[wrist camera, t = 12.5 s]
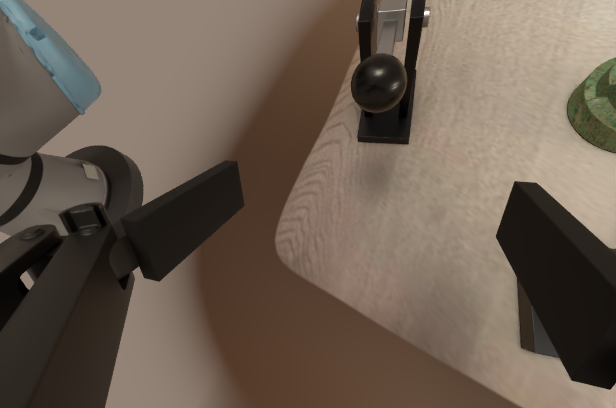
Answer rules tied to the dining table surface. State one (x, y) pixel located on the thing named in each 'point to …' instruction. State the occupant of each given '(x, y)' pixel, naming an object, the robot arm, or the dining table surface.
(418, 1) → the switch bracket
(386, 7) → the lever
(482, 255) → the dining table surface
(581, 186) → the dining table surface
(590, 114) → the decorative artifact
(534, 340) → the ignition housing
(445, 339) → the dining table surface
